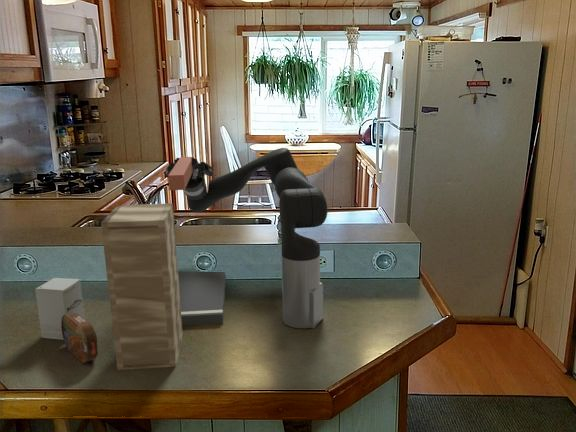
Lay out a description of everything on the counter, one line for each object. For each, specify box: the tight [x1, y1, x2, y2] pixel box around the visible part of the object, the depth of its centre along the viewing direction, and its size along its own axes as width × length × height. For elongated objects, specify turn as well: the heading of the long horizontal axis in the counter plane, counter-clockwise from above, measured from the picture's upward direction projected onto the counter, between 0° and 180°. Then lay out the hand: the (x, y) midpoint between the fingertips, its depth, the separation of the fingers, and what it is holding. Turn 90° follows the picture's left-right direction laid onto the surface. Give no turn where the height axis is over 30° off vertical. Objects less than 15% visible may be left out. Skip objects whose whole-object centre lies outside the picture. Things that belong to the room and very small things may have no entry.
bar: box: [167, 156, 194, 191], centre depth 134 cm, size 26×4×4 cm, turn 5°
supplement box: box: [34, 277, 86, 341], centre depth 124 cm, size 7×7×13 cm
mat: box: [178, 271, 227, 326], centre depth 142 cm, size 30×18×3 cm, turn 5°
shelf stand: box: [100, 202, 184, 371], centre depth 112 cm, size 14×12×32 cm
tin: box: [61, 313, 99, 364], centre depth 115 cm, size 15×3×8 cm, turn 42°
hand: (185, 160), depth 141 cm, fingers closed on bar, 3 cm apart
